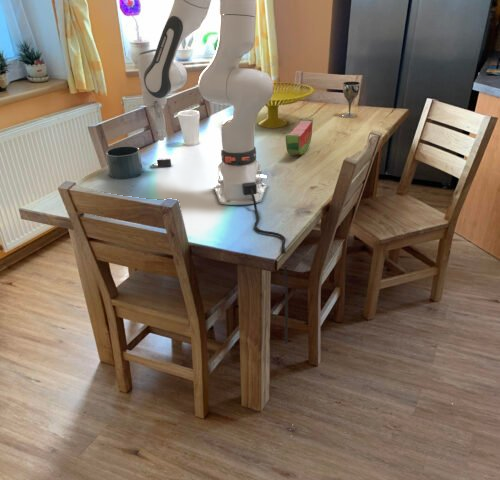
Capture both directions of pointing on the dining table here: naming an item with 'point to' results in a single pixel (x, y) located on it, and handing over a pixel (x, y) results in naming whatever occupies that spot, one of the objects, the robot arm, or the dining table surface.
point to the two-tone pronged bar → (162, 163)
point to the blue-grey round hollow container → (124, 162)
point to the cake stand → (283, 102)
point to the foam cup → (189, 126)
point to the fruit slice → (299, 137)
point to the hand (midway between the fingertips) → (160, 136)
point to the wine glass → (350, 94)
